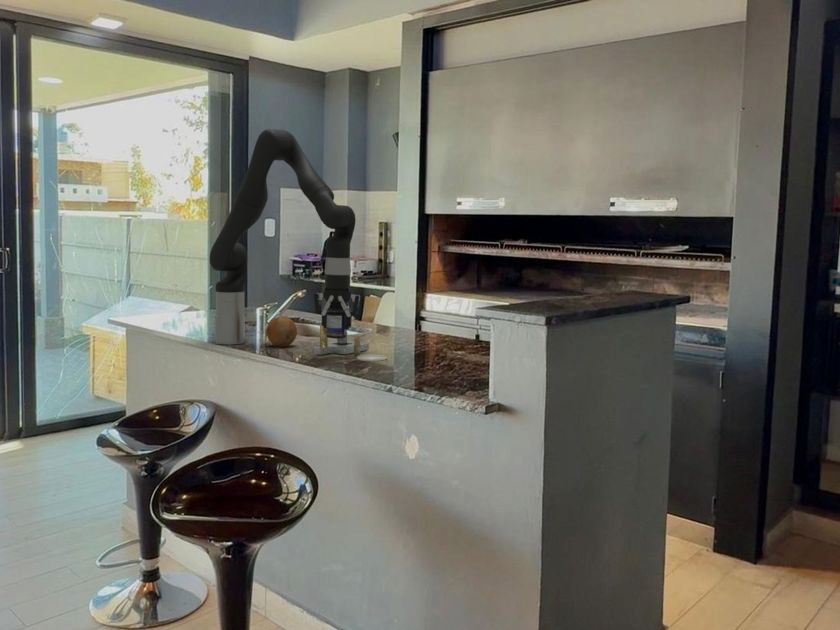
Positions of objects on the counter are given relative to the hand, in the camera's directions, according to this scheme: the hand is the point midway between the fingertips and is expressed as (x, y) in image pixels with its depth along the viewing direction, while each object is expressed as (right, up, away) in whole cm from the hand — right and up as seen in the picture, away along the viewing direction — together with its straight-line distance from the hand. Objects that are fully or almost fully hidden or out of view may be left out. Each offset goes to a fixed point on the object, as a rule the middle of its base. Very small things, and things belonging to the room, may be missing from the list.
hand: (336, 328), depth 231 cm
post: (0, -7, +14) cm, 16 cm away
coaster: (+11, -9, 0) cm, 14 cm away
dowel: (+6, -9, +5) cm, 11 cm away
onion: (-20, -7, +20) cm, 29 cm away
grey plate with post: (-1, -7, +11) cm, 14 cm away
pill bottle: (0, -3, 0) cm, 3 cm away
